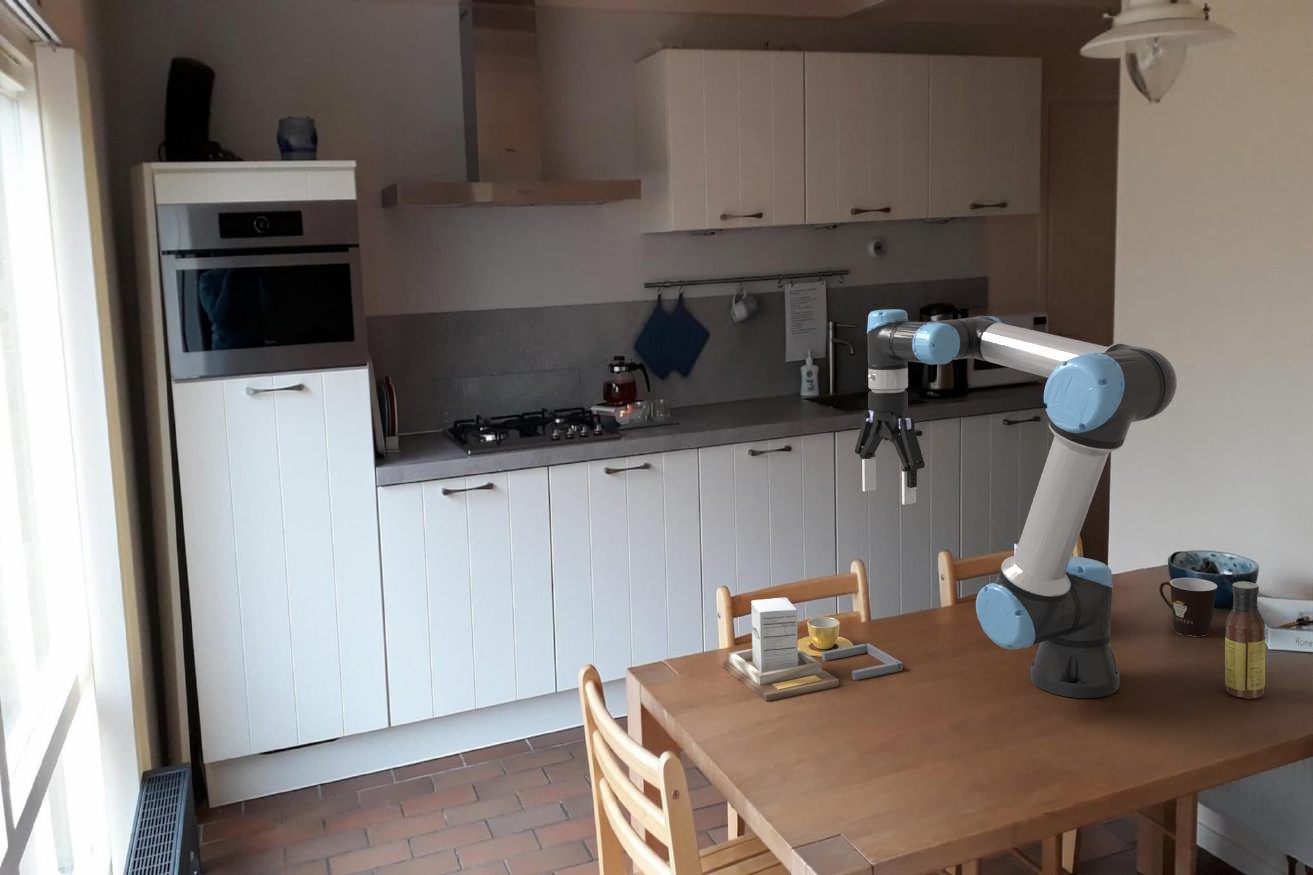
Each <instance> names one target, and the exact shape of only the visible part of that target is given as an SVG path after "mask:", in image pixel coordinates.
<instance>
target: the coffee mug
mask: <svg viewBox="0 0 1313 875" xmlns="http://www.w3.org/2000/svg"><path fill="white" fill-rule="evenodd" d="M1165 586H1168V587H1170V588H1169V590H1170V600H1171V602H1169V600H1168V599H1167V598H1166V596H1165V594H1164V590H1163V588H1164V587H1165ZM1217 590H1218V585H1217V584H1216V583H1215V582H1214V581H1210V580H1208V579H1207V580H1206V579H1202V578H1195V577H1180V578H1179V577H1178V578H1174V579H1171V580H1170V581H1164V582H1161V583H1160V585H1159V591H1158V592H1159V594H1160V596H1161V598H1162V600H1163V601H1164V603H1165V604H1166V605H1167V606H1168V607H1169V608H1170V610H1171V611H1172V621H1173V622H1172V623H1173V624H1172V625H1173V631H1174V630H1175V631H1176V632H1178V633H1181V634H1183V635H1192V636H1194V635H1195V636H1202V635H1207V634H1208V633H1209V634H1210V629H1211V625H1212V619H1213V613H1214V608H1215V601H1216V596H1217ZM1175 631H1174V632H1175ZM1176 632H1175V633H1176ZM1183 635H1182V636H1183Z"/></svg>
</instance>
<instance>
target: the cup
mask: <svg viewBox="0 0 1313 875" xmlns="http://www.w3.org/2000/svg"><path fill="white" fill-rule="evenodd" d="M806 623H807V630H808V636H804V637H802V639H801V638H799V639H798V648H799V649H800V650H802V651H803V652H805V653H806V654H808V655H809V656H811V657H819V658H820V657H821V658H822V652H823V651H817V650H813V649H811V648H810V645H812V644H813V646H814V647H815V648H816V649H818V650H829V649H832V648H833V647H834V646H835V645H837V649H840V648H845V647H850V646H855V645H854V643H853V642H852V641H851V640H849V639H847V638H844V637H841V636H839V634H840V633H839V632H840V627H841V621H839V620H838V619H836V618H834V617H829V616H819V617H817V616H816V617H813V618H810V619H809V620H807V622H806Z"/></svg>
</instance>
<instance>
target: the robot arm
mask: <svg viewBox="0 0 1313 875" xmlns="http://www.w3.org/2000/svg"><path fill="white" fill-rule="evenodd" d="M866 330H867V331H866V335H867V363H868V365H867V367H868V368H867V370H868V371H867V373H868V375H867V378H868V382H867V383H868V389H870V391H869V392H868V393H867V394H868V395H867V396H868V398H867V399H868V400H867V401H868V404H867V406H868V410H864V411H863V413H862V414H863V416H862V424H861V427H860V431H859V433H858V434H859V435H858V438H857V441H856V444H855V448H854V453H855V454H856V455H859V458H860V459H861V472H862V476H861V478H862V492H865V493H866V492H871V491H877V461H876V460H877V459H876V456H877V455H876V452H877V450H878V448H879V446H880V444H881V443H882V440H883V438H885V439H888V440H889V441H890V443H892V444H893V446H894V448H895V450H896V452H897V455H898V457H899V459H900V462H901V464H902V467H903V468H902V470H901V505H904V506H905V505H911V504H912V505H913V504H917V487H918V470H921V469H925V466H926V465H925V460H924V458H923V453H922V450H921V446H920V443H919V439H918V437H917V433H916V428H915V419H914V418H913V417H909V418H908V417H907V418H906V417H905V418H904V411H906V410H907V409H908V406H909V399H908V398H909V397H908V396H909V394H908V391H907V390H906V389H907V388H908V387H909V377H908V376H909V375H908V374H909V369H908V368H909V367H908V365H909V364H908V362H909V363H910V362H911V363H912V362H913V363H919V364H920V363H922V364H927V365H930V366H933V365H947V364H949V363H950V362H951V361H953V360H954V361H955V360H963V359H976V360H980V361H985V362H988V363H992V364H997V365H1000V366H1003V367H1007V368H1010V369H1015V370H1017V371H1023V372H1025V373H1028V374H1033V375H1036V376H1037V375H1038V376H1040V377H1045V378H1048V379H1047V380H1046V383H1045V387H1044V391H1043V403H1044V404H1045V406H1046V408H1045V411H1046V414H1047V415H1048V418H1049V421H1048V428H1049V430H1050V431H1051V432H1052V434H1053V436H1054V437H1053V440H1052V443H1051V446H1050V449H1049V451H1048V455H1047V458H1046V461H1045V464H1044V467H1043V469H1042V470H1043V471H1042V473H1041V476H1040V478H1039V482H1038V485H1037V489H1036V491H1035V493H1034V496H1033V500H1032V503H1031V506H1030V509H1029V511H1028V515H1027V518H1026V520H1025V523H1024V527H1023V530H1022V533H1021V536H1020V538H1019V541H1018V543H1017V544H1018V547H1017V550H1016V553H1015V556H1014V555H1012V556H1009V557H1007V558H1005V559H1004V560H1003V561H1002V563H1001V566H1000V569H999V572H998V575H997V578H996V581H995V582H993V583H992V582H991V583H988V584H986V585H985V586H983V587H982V588H981V589H980V591H978V594H977V596H976V599H975V610H976V615H977V617H976V618H977V620H978V621H979V623H980V626H981V628H982V631H983V632H984V633H985V634H986V637H988V638H989V639H990V640H991V641H992V642H993V643H995V645H997V646H999V647H1001V648H1003V649H1007V650H1018V649H1026V648H1030V647H1032V646H1034V645H1037V644H1039V645H1038V648H1037V650H1036V656H1035V659H1034V660H1033V661H1032V663H1031V666H1030V680H1031V682H1032V684H1033V685H1034V686H1036V687H1038V688H1039V689H1041V690H1043V691H1045V692H1046V693H1049V694H1053V695H1057V696H1062V697H1067V698H1077V699H1095V698H1097V699H1098V698H1104V697H1106V696H1108V697H1109V696H1111V695H1113V694H1115V693H1116V692H1117V691H1118V690H1119V689H1120V671H1119V669H1118V668H1117V664H1116V663H1117V662H1116V659H1115V656H1114V652H1113V650H1112V647H1111V632H1112V631H1111V628H1112V627H1111V624H1112V602H1113V600H1112V599H1113V589H1114V585H1113V573H1112V572H1113V571H1112V570H1111V568H1110V567H1109V566H1108V565H1107V564H1106V563H1104V562H1101V561H1099V560H1095V559H1092V558H1086V557H1083V556H1076V555H1075V556H1074V555H1073V553H1074V550H1075V547H1076V545H1077V542H1078V539H1079V537H1080V533H1081V530H1082V528H1083V526H1084V523H1085V520H1086V518H1087V515H1088V511H1089V510H1090V506H1091V503H1092V501H1093V498H1094V495H1095V493H1096V491H1097V490H1096V489H1097V487H1098V485H1099V484H1098V483H1099V481H1100V478H1101V476H1102V473H1103V470H1104V467H1105V465H1106V462H1107V459H1108V457H1109V455H1110V453H1111V452H1114V451H1115V452H1116V451H1118V450H1120V449H1121V448H1122V447H1123V445H1124V443H1125V440H1126V437H1127V435H1128V432H1129V429H1130V426H1131V424H1132V423H1135V422H1136V423H1137V422H1140V421H1145V420H1149V419H1152V418H1154V417H1156V416H1157V415H1159V414H1161V413H1162V412H1164V411H1165V410H1166V408H1168V406H1169V405H1170V404H1171V402H1172V401H1173V399H1174V396H1175V395H1176V391H1177V390H1176V389H1177V384H1178V383H1177V381H1178V380H1177V375H1176V372H1175V369H1174V366H1172V364H1171V362H1170V361H1169V359H1167V357H1166V356H1165V355H1163V354H1162V353H1160V352H1158V351H1156V350H1153V349H1152V348H1146V347H1140V346H1134V345H1130V344H1124V343H1114V344H1113V343H1112V344H1111V345H1110V346H1104V345H1101V344H1096V343H1091V342H1087V341H1086V342H1085V341H1082V340H1079V339H1073V338H1069V337H1066V336H1065V337H1064V336H1060V335H1056V334H1051V333H1046V332H1042V331H1038V330H1032V329H1029V328H1024V327H1020V326H1016V325H1015V326H1014V325H1010V324H1006V323H1004V322H1002V321H1001V320H1000V318H998V317H997V316H984V315H979V316H975V317H965V318H957V319H946V320H945V319H943V320H936V321H935V320H933V321H910V320H909V319H908V312H907V311H906V310H904V309H896V308H895V309H877V310H873V311H870V312H869V314H868V316H867V329H866Z"/></svg>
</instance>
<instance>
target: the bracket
mask: <svg viewBox="0 0 1313 875" xmlns="http://www.w3.org/2000/svg"><path fill="white" fill-rule="evenodd" d="M821 652H822V657H821V660H822V661H824V662H827V661H831V660H832V661H833V660H836V659H840V658H841V659H842V658H846V657H852V656H857V655H862V654H868V655H869V656H871V657H873V658H875V659H877V660H878V661H880V662H882V663H883V664H879V665H874V666H869V667H864V668H859V669H855V670H851V679H852V680H854V681H858V680H862V679H867V678H873V677H878V676H882V675H883V676H884V675H887V674H891V673H898V672H901V671H903V669H904V668H903V662H902V661H900V660H898V659H896V658H895V657H893V656H891V655H890V654H888V653H886V652H884V651H883V650H881V649H879V648H877V647H876V646H874V645H872V644H870V643H869V642H866V643H862V644H857V645H856V644H855V645H854V646H850V647H845V648H840V649H838V648H836V649H831V650H826V651H821Z"/></svg>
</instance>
